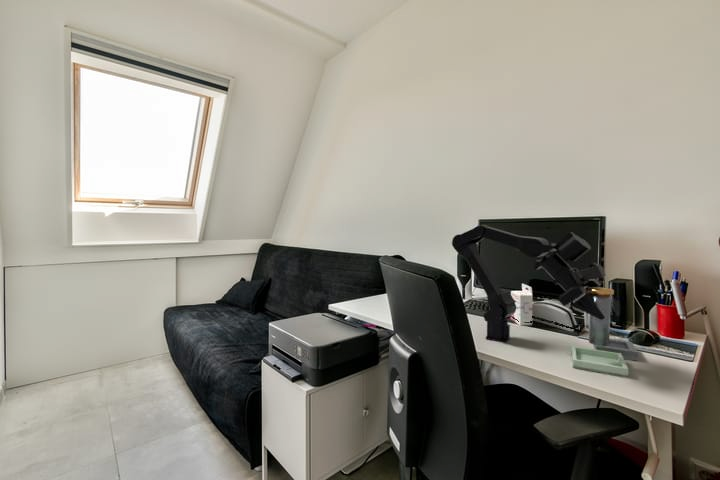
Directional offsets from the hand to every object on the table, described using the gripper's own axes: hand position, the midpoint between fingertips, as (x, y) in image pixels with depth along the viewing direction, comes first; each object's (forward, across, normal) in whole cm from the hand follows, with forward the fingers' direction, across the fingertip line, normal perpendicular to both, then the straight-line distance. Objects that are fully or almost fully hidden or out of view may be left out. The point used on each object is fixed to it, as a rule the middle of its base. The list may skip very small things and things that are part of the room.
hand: (605, 317), depth 89 cm
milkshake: (+2, +32, +17) cm, 37 cm away
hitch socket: (+9, +13, +10) cm, 19 cm away
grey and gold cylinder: (+4, 0, +6) cm, 8 cm away
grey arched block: (-6, +30, +26) cm, 40 cm away
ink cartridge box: (-13, +25, +32) cm, 43 cm away
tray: (+8, 0, +10) cm, 13 cm away
